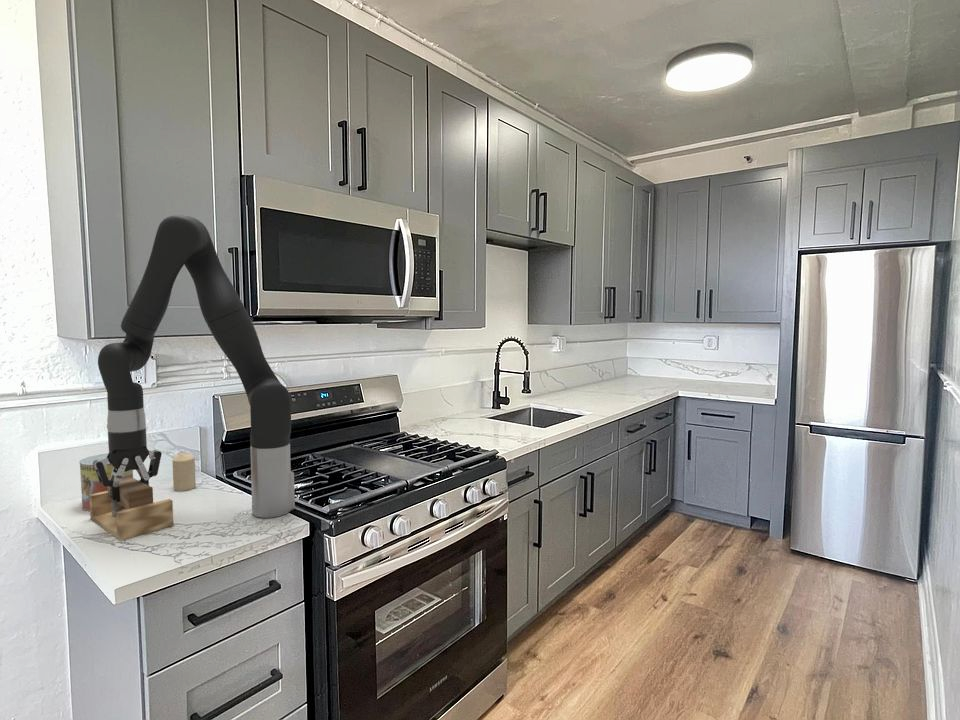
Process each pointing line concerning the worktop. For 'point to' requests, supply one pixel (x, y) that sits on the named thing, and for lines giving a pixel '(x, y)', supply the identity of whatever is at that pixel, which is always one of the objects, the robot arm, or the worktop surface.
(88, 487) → the canned food
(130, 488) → the brown wooden block
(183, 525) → the worktop surface
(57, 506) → the worktop surface
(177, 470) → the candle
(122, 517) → the peg frame
